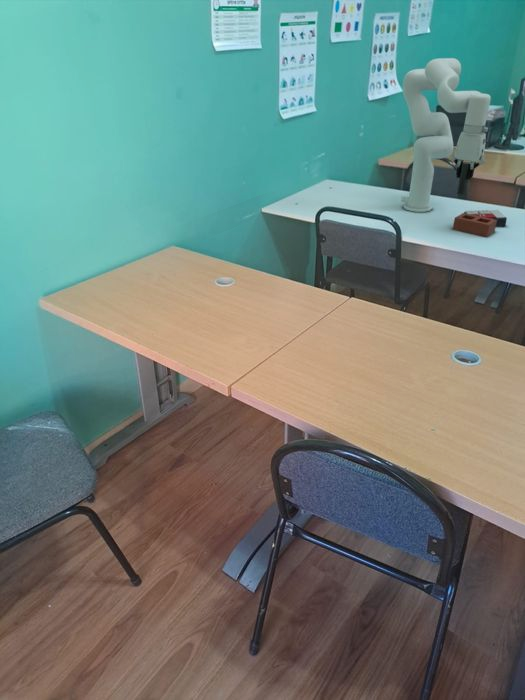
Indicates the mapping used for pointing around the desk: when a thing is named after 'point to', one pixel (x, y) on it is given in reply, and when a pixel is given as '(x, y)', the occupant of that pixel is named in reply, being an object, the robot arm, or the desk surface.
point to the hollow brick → (474, 224)
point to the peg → (463, 178)
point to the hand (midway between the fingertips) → (463, 177)
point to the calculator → (490, 216)
